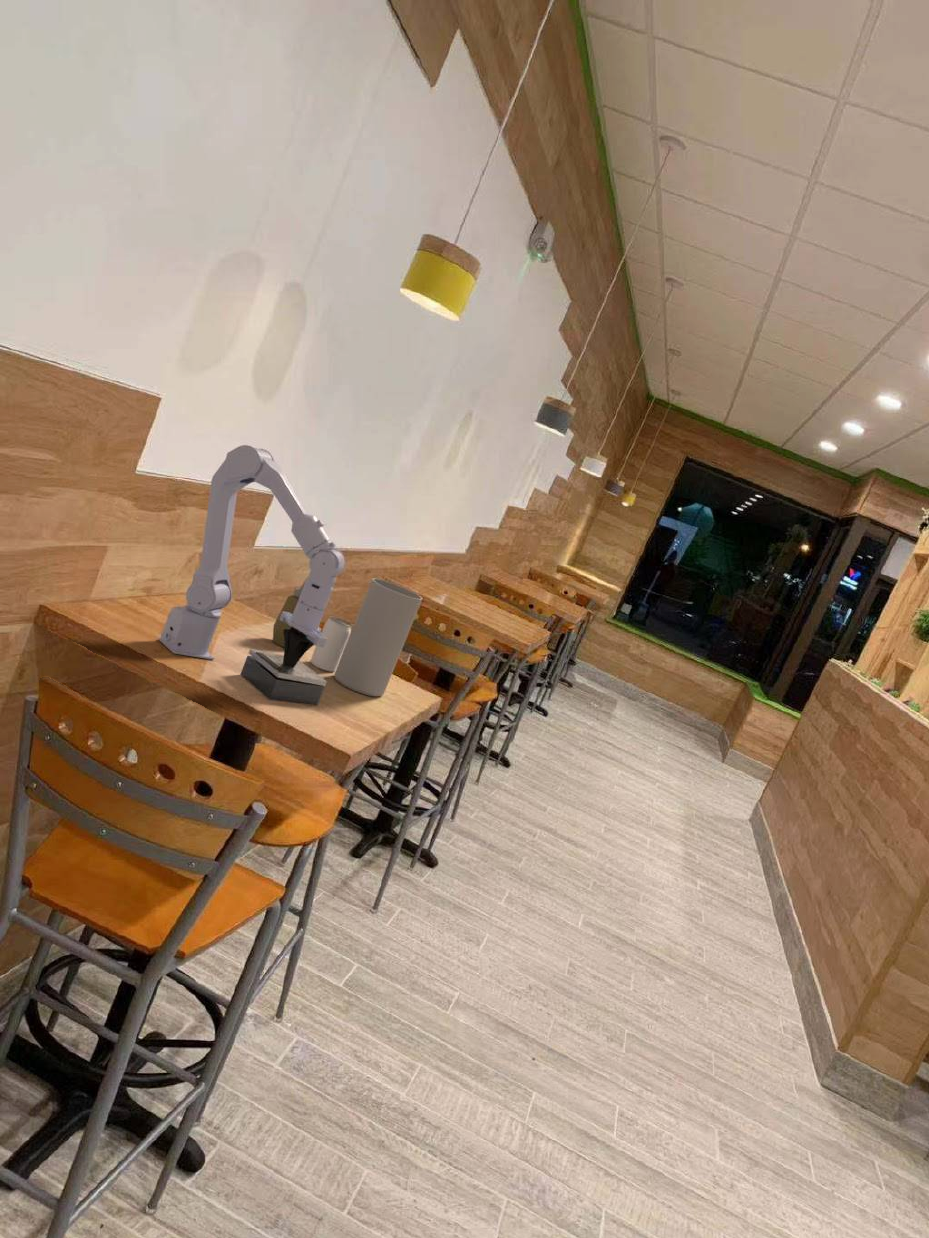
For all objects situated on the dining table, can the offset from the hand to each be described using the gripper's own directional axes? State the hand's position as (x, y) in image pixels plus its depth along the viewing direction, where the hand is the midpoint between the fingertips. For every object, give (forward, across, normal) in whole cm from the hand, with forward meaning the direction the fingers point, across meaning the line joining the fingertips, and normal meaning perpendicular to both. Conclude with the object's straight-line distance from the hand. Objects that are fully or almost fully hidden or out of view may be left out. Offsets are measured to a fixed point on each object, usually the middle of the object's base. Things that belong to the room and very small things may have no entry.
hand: (288, 665), depth 187 cm
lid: (+1, 0, 0) cm, 1 cm away
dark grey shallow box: (+6, 0, 0) cm, 6 cm away
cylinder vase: (+6, +10, -29) cm, 31 cm away
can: (+6, +20, -25) cm, 33 cm away
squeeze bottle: (+6, +32, -21) cm, 39 cm away
